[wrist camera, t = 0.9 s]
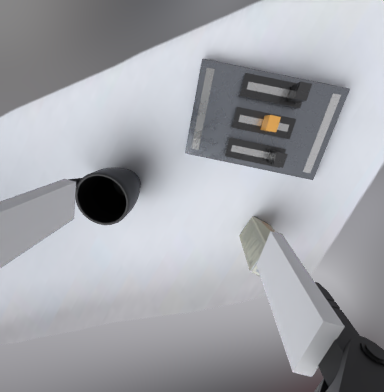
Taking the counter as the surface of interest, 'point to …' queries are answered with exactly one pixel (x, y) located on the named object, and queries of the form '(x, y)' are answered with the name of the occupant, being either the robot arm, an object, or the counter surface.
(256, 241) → the box
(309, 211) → the counter surface
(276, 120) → the breaker handle
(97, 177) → the mug
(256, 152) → the panel
